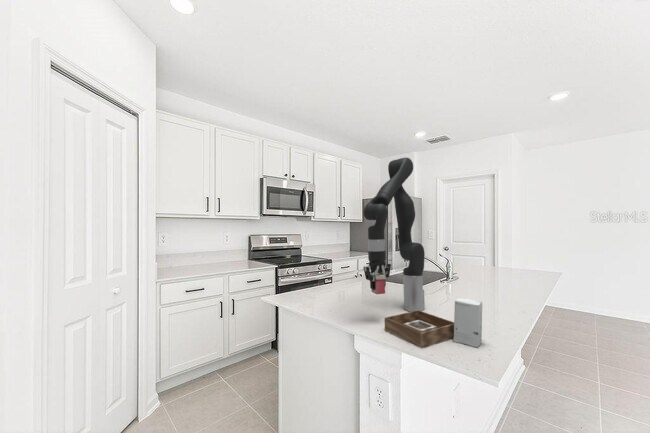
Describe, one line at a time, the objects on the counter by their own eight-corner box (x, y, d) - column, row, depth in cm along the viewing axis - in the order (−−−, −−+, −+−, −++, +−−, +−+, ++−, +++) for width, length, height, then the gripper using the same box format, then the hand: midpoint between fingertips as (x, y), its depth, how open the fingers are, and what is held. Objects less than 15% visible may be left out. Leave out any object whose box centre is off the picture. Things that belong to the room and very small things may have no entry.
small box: (371, 291, 124) (370, 274, 125) (380, 290, 126) (379, 273, 126) (376, 294, 120) (375, 276, 120) (385, 293, 121) (384, 275, 121)
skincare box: (453, 341, 102) (452, 300, 102) (458, 336, 106) (457, 297, 107) (479, 348, 96) (478, 304, 96) (483, 342, 101) (482, 300, 101)
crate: (418, 321, 122) (418, 310, 123) (457, 336, 106) (457, 323, 106) (384, 330, 113) (384, 317, 113) (422, 348, 97) (421, 333, 97)
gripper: (383, 247, 130) (384, 284, 129) (358, 250, 123) (359, 289, 122) (395, 248, 123) (396, 287, 123) (369, 251, 116) (370, 293, 116)
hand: (378, 288), depth 123 cm, fingers closed on small box, 5 cm apart
